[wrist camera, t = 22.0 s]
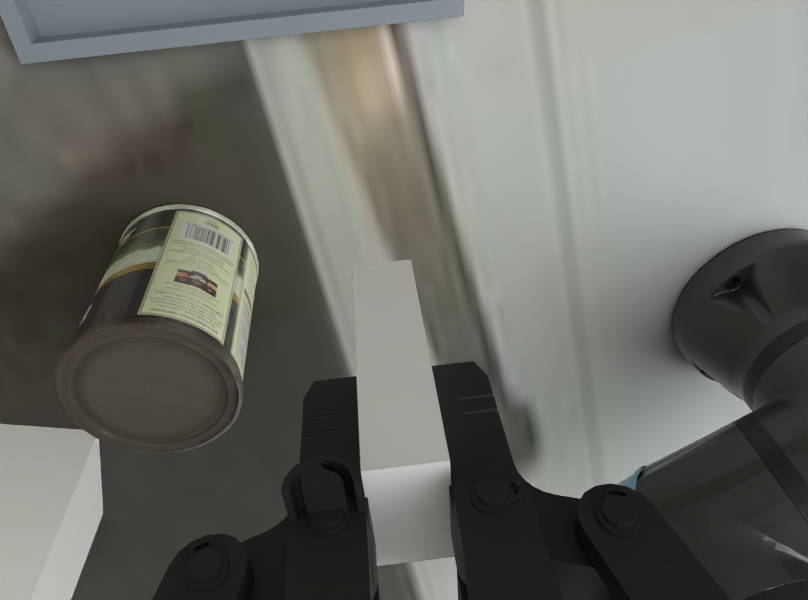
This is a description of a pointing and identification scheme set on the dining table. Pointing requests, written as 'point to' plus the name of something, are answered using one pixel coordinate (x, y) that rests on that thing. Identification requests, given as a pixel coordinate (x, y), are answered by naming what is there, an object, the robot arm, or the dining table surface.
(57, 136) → the dining table surface
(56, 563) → the milk
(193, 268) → the coffee can
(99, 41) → the slate tray
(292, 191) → the dining table surface
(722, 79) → the dining table surface
